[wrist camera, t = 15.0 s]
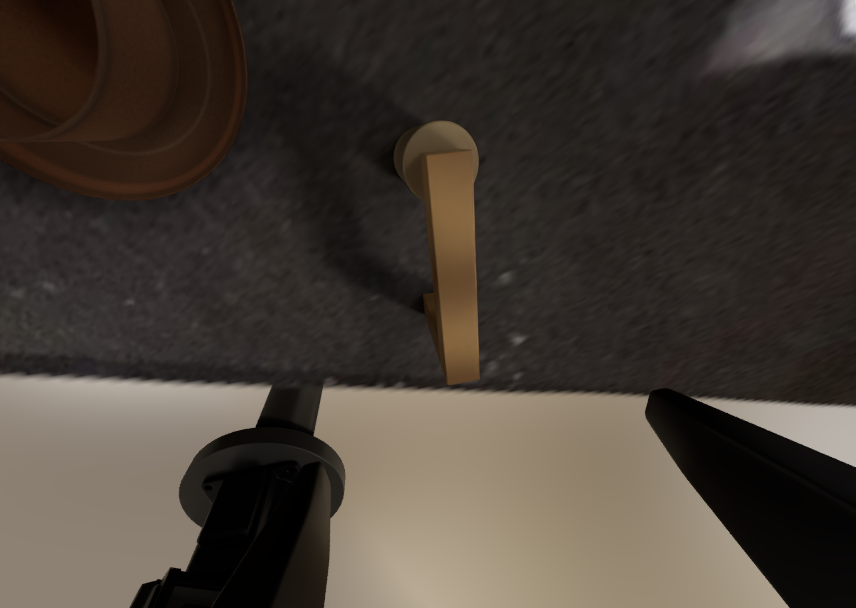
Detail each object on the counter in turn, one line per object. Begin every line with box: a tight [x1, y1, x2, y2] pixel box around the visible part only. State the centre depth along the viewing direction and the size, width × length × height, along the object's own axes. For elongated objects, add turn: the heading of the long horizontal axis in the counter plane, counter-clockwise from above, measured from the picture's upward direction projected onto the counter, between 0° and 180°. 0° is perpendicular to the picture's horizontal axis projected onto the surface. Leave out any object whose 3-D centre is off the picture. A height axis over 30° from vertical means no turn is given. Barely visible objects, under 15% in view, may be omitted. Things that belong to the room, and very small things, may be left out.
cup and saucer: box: [0, 0, 248, 201], centre depth 11 cm, size 12×12×6 cm
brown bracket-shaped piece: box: [394, 120, 479, 385], centre depth 16 cm, size 11×3×7 cm, turn 6°
